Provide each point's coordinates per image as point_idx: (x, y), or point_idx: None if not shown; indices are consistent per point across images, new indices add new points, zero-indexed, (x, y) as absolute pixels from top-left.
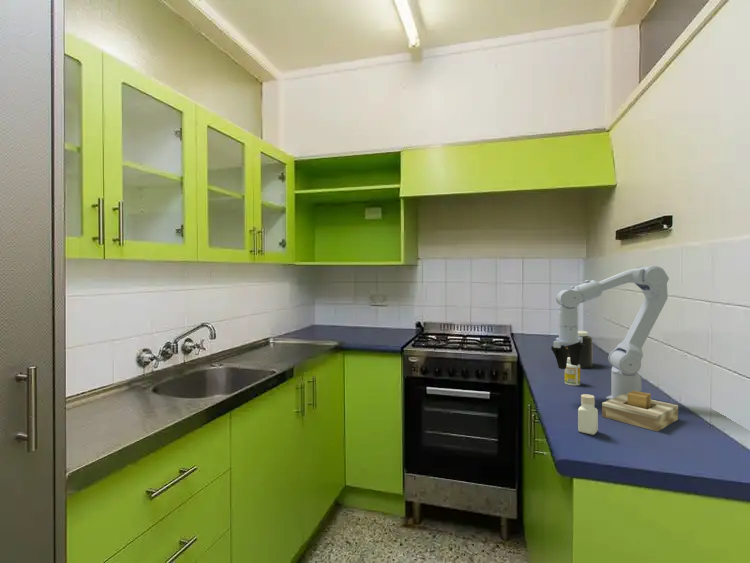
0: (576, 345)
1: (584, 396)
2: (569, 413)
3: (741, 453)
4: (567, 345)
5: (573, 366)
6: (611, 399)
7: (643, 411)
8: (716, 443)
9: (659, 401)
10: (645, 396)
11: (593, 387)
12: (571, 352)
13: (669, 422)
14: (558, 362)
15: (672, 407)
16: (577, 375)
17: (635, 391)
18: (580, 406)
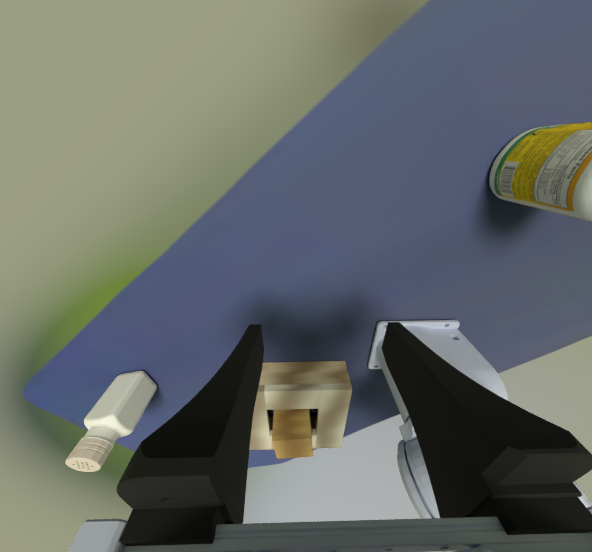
0: (461, 504)
1: (70, 464)
2: (189, 321)
3: (262, 465)
4: (494, 440)
5: (586, 205)
6: (277, 392)
7: (251, 436)
8: (272, 453)
9: (342, 432)
10: (283, 457)
11: (498, 247)
12: (433, 394)
13: None
14: (238, 352)
15: (318, 447)
16: (538, 208)
17: (306, 442)
18: (96, 421)
